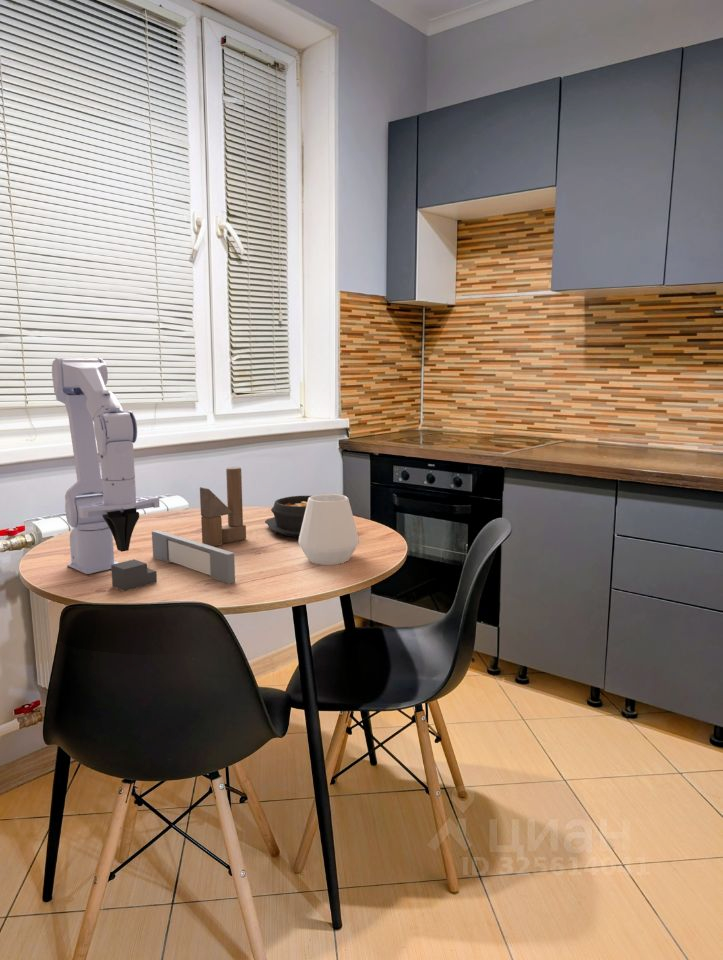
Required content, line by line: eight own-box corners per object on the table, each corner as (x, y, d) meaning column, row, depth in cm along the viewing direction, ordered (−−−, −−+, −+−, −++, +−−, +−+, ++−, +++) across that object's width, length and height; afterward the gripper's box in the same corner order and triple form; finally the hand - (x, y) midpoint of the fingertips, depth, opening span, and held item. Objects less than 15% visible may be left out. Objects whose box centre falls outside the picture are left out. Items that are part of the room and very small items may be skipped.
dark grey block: (112, 587, 131) (111, 564, 130) (144, 578, 136) (143, 557, 136) (125, 592, 128) (123, 569, 127) (156, 583, 134) (155, 561, 133)
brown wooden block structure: (201, 545, 161) (198, 471, 158) (237, 536, 169) (235, 466, 166) (210, 548, 159) (207, 472, 156) (246, 539, 167) (244, 467, 164)
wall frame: (153, 557, 151) (151, 531, 150) (159, 555, 152) (158, 530, 151) (228, 584, 132) (227, 554, 131) (235, 582, 133) (234, 552, 132)
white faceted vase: (358, 550, 156) (358, 491, 154) (359, 567, 143) (359, 503, 141) (300, 551, 156) (299, 492, 154) (296, 568, 143) (295, 503, 141)
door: (169, 560, 147) (168, 540, 146) (173, 559, 148) (172, 539, 147) (210, 575, 136) (209, 553, 136) (215, 574, 137) (214, 552, 137)
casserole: (363, 535, 170) (363, 503, 169) (302, 548, 158) (302, 513, 157) (306, 519, 189) (305, 489, 188) (248, 529, 177) (247, 498, 176)
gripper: (87, 485, 116) (92, 562, 118) (165, 476, 125) (169, 547, 127) (72, 480, 121) (77, 553, 123) (148, 472, 130) (152, 540, 133)
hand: (123, 550), depth 126 cm, fingers closed
